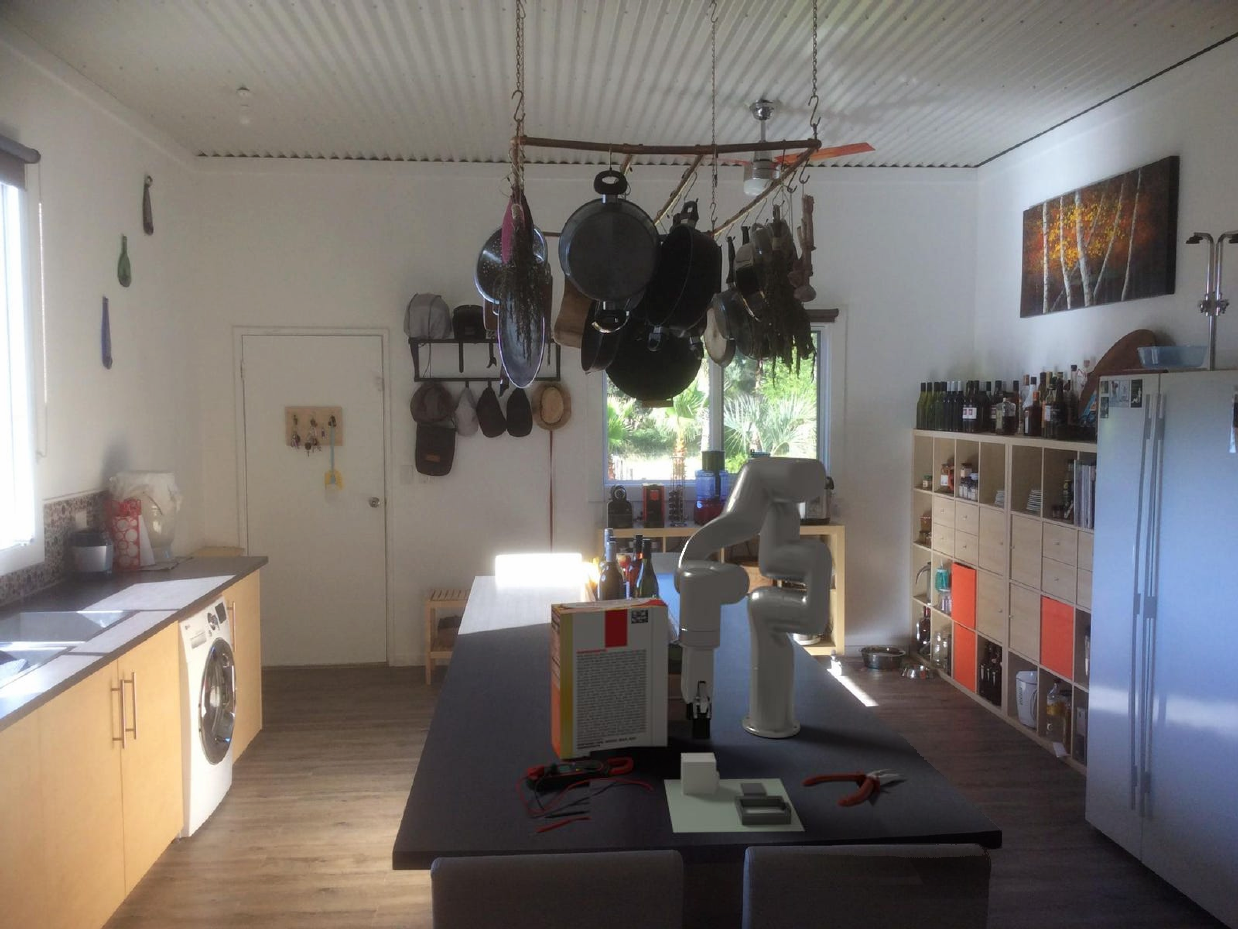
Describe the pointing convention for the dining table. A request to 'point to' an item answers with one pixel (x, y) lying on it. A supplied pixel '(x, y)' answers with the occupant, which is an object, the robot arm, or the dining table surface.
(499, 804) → the dining table surface
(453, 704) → the dining table surface
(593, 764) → the digital clamp meter
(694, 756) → the plug
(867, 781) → the pliers
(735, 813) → the board
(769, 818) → the frame
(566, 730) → the cereal box
